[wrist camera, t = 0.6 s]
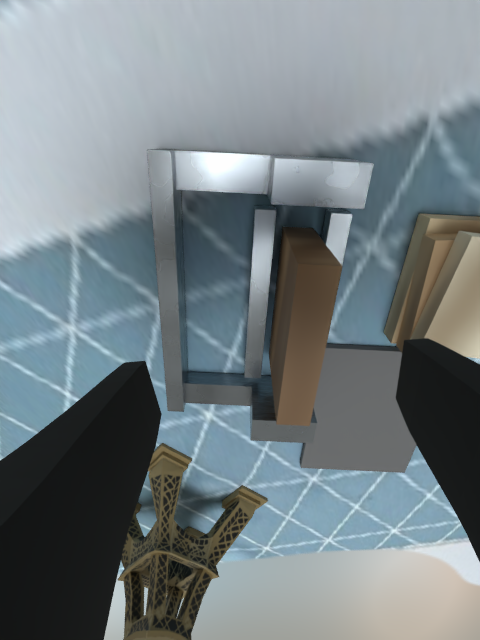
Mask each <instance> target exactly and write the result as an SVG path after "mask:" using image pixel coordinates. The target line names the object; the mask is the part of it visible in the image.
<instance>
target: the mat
mask: <svg viewBox="0 0 480 640" xmlns="http://www.w3.org/2000/svg"><path fill="white" fill-rule="evenodd" d="M401 358H402V352H401V351H400V350H399V348H398V347H384V346H364V345H343V344H326V349H325V354H324V359H323V364H322V369H321V373H320V378H319V383H318V388H317V393H316V398H315V403H314V412H315V416H316V420H317V427H316V431H315V436H314V441H313V443H304V444H303V449H302V454H301V459H300V466H301V468H317V469H338V470H360V471H381V472H402V473H405V470H406V468H407V466H408V463H409V461H410V459H411V457H412V454H413V452H414V450H415V447H416V443H415V441H414V439H413V437H412V436H411V434H410V432H409V430H408V427H407V425H406V423H405V420H404V418H403V416H402V413H401V411H400V408H399V405H398V403H397V400H396V392H397V385H398V378H399V371H400V365H401Z"/></svg>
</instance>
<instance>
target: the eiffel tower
mask: <svg viewBox="0 0 480 640" xmlns="http://www.w3.org/2000/svg"><path fill="white" fill-rule="evenodd" d="M191 461H192V458H190V457H188V456H186V455H184V454H183V453H181V452H179V451H177V450H175V449H173V448H171V447H169V446H167V445H166V444H164V443H162V444H161V445H160V446H159V447H158V448H157V449H156V450H155V451H154V453H153V456H152V459H151V462H150V465H149V469H148V471H150V473H149V479H150V485H151V490H152V495H153V501H154V506H155V511H156V516H157V521H156V523H155V524H154V526H153V527H152V529H151V530H150V532H149V533H148V534H147V536H146V537H144V536H143V533H142V531H141V528H140V525H139V523H138V520H137V518H136V514H137V513H138V512H139V511H140V508H141V504H139V503H137V505H136V508H135V511H134V515H133V518H132V521H131V524H130V527H129V530H128V534H127V537H126V541H125V544H124V548H123V552H122V557H121V561H122V564H123V566H124V571H123V572H122V574H121V575H120V577H119V578H118V580H120V581H124V587H125V598H126V607H125V629H124V639H123V640H191V632H192V629H193V626H194V623H195V620H196V617H197V614H198V611H199V608H200V605H201V601H202V598H203V596H204V594H205V592H206V589H207V588H208V586H209V583H210V581H211V579H213V578H217V577H219V575H218V572H217V568H216V565H217V563H218V562H219V561H220V559H221V558H222V557H223V555H224V554H225V553H226V551H227V550H228V549H229V548H230V546H231V545H232V544H233V542H234V541H235V539H236V538H237V537H238V535H239V534H240V533H241V531H242V530H243V529H244V527H245V526H246V525H247V523H248V522H249V520H250V519H251V518H252V516H253V514H254V511H255V510H256V509H257V508H259V507H260V506H262V505H263V504H264V503H266V502H267V501H268V500H267V498H266V497H264V496H262V495H260V494H258V493H256V492H254V491H252V490H251V489H249V488H247V487H245V486H243V485H242V486H241V487H239V488H238V489H237V490H235V491H234V492H233V493H232V494H230V495H229V496H228V497H226V498H225V499H224V500H223V501H222V508H224V509H226V510H225V511H224V512H223V514H222V515H221V517H220V518H219V519H218V521H217V522H216V523H215V525H214V526H213V528H212V529H211V530H210V532H209V533H207V534H204V533H202V532H200V531H198V530H196V529H194V528H191V527H188V528H187V529H185V530H183V529H182V528H181V527H180V526H178V524H177V523H176V522H175V520H174V514H175V509H176V504H177V499H178V494H179V489H180V484H181V479H182V475H183V472H184V471H185V470H186V469H187V468H188V464H189V463H190V462H191ZM144 587H146V588H148V598H147V608H146V615H145V616H144ZM166 595H167V597H166ZM183 598H184V600H183V603H182V606H181V608H180V611H179V614H178V617H177V613H178V610H179V606H180V603H181V600H182V599H183ZM176 617H177V618H176Z"/></svg>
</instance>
